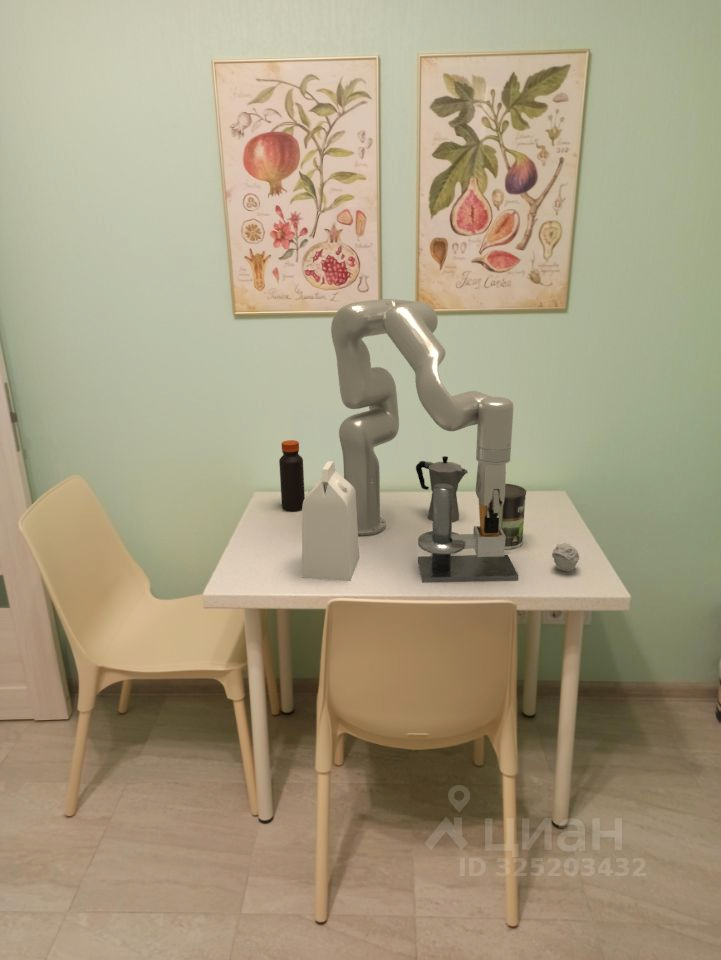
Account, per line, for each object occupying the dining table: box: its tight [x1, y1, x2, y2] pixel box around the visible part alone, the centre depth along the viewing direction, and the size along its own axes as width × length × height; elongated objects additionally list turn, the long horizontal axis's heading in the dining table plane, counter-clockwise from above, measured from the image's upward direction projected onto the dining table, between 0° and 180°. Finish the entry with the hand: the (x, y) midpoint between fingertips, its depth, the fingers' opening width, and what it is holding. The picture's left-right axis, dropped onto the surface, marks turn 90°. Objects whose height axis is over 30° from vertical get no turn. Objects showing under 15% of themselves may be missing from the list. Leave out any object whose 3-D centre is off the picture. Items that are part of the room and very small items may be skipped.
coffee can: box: [499, 483, 527, 550], centre depth 174 cm, size 10×10×14 cm
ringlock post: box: [417, 484, 519, 583], centre depth 158 cm, size 22×11×21 cm, turn 91°
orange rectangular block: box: [478, 500, 499, 536], centre depth 157 cm, size 4×4×11 cm
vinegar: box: [278, 439, 306, 512], centre depth 197 cm, size 7×7×20 cm
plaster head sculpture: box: [551, 542, 580, 572], centre depth 159 cm, size 6×7×7 cm
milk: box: [301, 460, 360, 582], centre depth 159 cm, size 12×12×26 cm
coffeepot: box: [415, 455, 469, 524], centre depth 189 cm, size 15×9×18 cm, turn 59°
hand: (489, 528), depth 158 cm, fingers closed on orange rectangular block, 3 cm apart
